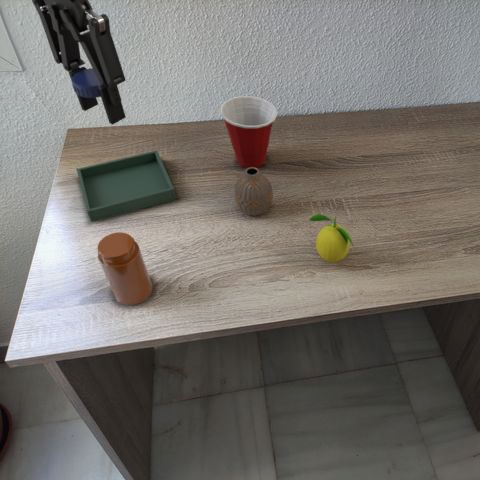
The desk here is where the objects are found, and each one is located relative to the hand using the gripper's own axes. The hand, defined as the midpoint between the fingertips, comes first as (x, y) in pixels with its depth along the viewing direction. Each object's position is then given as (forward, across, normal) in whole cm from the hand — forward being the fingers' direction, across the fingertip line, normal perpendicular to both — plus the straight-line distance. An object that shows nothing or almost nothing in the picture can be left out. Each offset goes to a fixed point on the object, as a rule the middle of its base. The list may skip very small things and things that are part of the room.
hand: (103, 113), depth 78 cm
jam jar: (+16, -20, +16) cm, 30 cm away
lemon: (+16, -41, -7) cm, 45 cm away
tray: (+16, 0, 0) cm, 16 cm away
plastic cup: (+17, -13, -21) cm, 30 cm away
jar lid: (-6, 0, 0) cm, 6 cm away
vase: (+16, -23, -10) cm, 30 cm away
